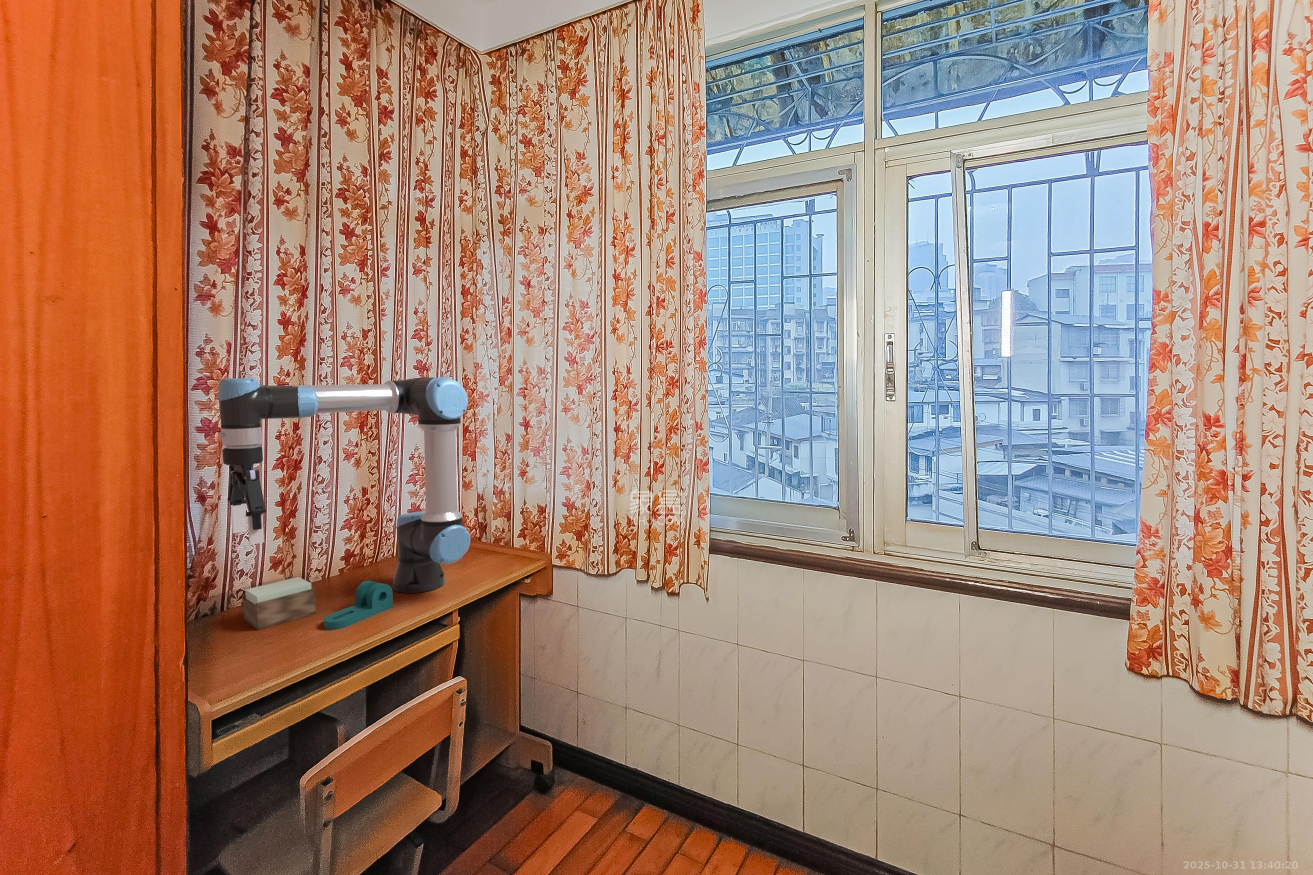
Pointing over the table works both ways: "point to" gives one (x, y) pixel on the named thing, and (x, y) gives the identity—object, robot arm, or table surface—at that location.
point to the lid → (277, 590)
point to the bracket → (362, 605)
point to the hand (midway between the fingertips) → (248, 537)
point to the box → (279, 609)
